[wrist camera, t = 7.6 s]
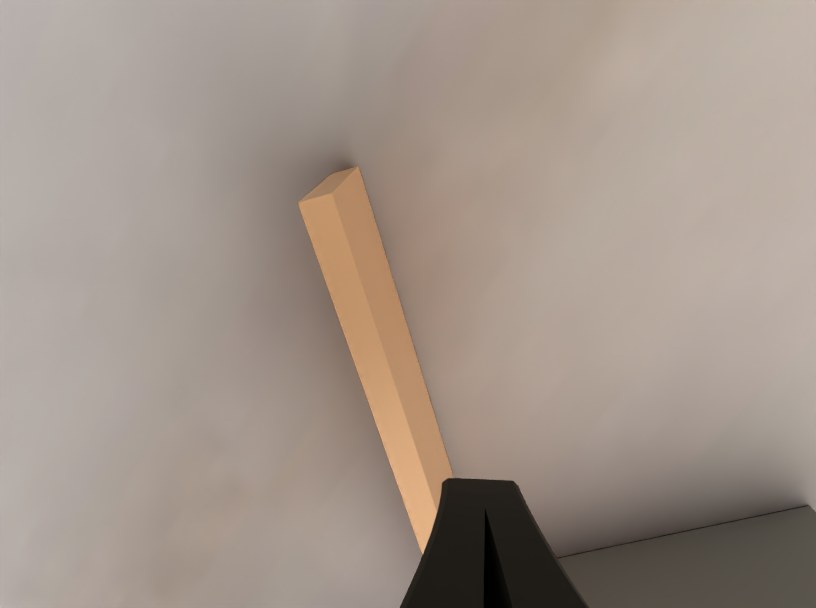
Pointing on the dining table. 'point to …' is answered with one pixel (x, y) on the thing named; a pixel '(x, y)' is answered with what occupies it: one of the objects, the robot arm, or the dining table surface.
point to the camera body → (707, 567)
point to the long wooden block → (378, 340)
